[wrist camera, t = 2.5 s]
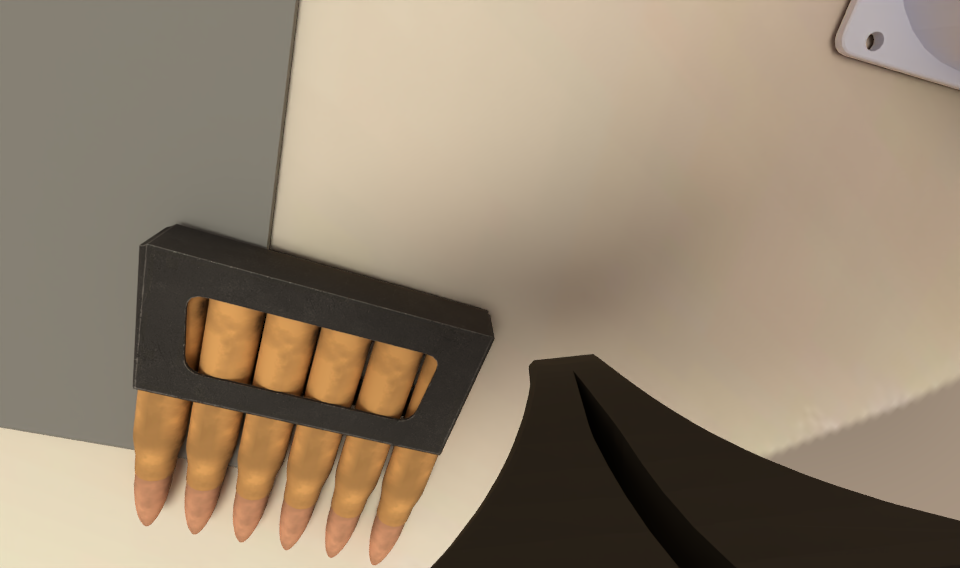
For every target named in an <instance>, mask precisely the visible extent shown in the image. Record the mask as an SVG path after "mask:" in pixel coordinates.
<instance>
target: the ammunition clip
mask: <svg viewBox="0 0 960 568" xmlns="http://www.w3.org/2000/svg"><path fill="white" fill-rule="evenodd" d="M265 313H267V316H266V321H265V326H264V331H263V336H262V340H261V345H260V350H259V355H258V354H257V349H258V345H259V340H260V336H261V331H262V327H263V322H264V318H265ZM320 327H321V331H320V335H319V339H318V343H317V347H316V351H315V355H314V359H313V363H312V367H309V366H310V362H311V358H312V354H313V351H314V347H315V343H316V339H317V336H318V332H319V328H320ZM494 339H495V338H494V333H493V328H492V323H491V318H490V315H489V314H488V311H487V310H483V309H480V308H476V307H473V306H469V305H466V304H462V303H458V302H455V301H451V300H448V299H444V298H440V297H437V296H433V295H430V294H426V293H422V292H419V291H415V290H412V289H408V288H405V287H401V286H397V285H394V284H390V283H387V282H383V281H379V280H376V279H372V278H369V277H365V276H362V275H358V274H354V273H351V272H347V271H344V270H340V269H336V268H333V267H329V266H326V265H322V264H319V263H315V262H311V261H308V260H304V259H301V258H297V257H293V256H290V255H286V254H283V253H279V252H276V251H272V250H268V249H265V248H261V247H258V246H254V245H250V244H247V243H243V242H240V241H236V240H233V239H229V238H225V237H222V236H218V235H215V234H211V233H207V232H204V231H200V230H197V229H193V228H190V227H186V226H182V225H179V224H175V225H173V226H169V227H166V228H164V229H163V230H161V231H160V232H158V233H157V234H155V235H154V236H152V237H151V238H149V239H148V240H146V241H145V242H143V243H142V244H140V245H139V264H138V284H137V305H136V326H135V347H134V367H133V388H134V389H136V390H138V392H137V401H136V410H135V419H134V428H133V442H134V449H135V454H136V456H135V482H134V494H135V505H136V510H137V514H138V517H139V519H140V521H141V522H142V523H143V525H145V526H149V525H150V524H152V523H153V521H154V520H155V519H156V518H157V516H158V515H159V513H160V511H161V510H162V508H163V505H164V503H165V501H166V498H167V495H168V492H169V489H170V486H171V482H172V477H173V472H174V469H175V466H176V462H177V457H178V453H179V451H180V449H181V447H182V444H183V442H184V439H185V436H186V433H187V428H188V422H189V416H190V410H191V405H192V402H193V405H192V412H191V418H190V424H189V431H188V437H187V443H186V452H187V460H188V467H187V476H186V480H187V483H186V490H185V515H186V520H187V525H188V528H189V530H190V531H191V532H192V534H197V533H199V532H200V531H201V530H202V529H203V528H204V526H205V525H206V524H207V522H208V520H209V519H210V517H211V515H212V513H213V511H214V509H215V506H216V503H217V500H218V498H219V494H220V490H221V485H222V482H223V481H224V477H225V473H226V470H227V466H228V464H229V462H230V460H231V458H232V456H233V454H234V452H235V449H236V445H237V440H238V436H239V431H240V426H241V422H242V417H243V413H246V418H245V422H244V427H243V432H242V437H241V442H240V446H239V451H238V457H237V461H238V478H237V485H236V495H235V500H234V507H233V525H234V531H235V535H236V538H237V539H238V541H239V542H244V541H245V540H246V539H248V538H249V536H250V535H251V534H252V532H253V531H254V529H255V528H256V526H257V525H258V523H259V521H260V519H261V517H262V515H263V512H264V510H265V507H266V504H267V501H268V497H269V494H270V492H271V490H272V487H273V484H274V480H275V477H276V475H277V473H278V471H279V469H280V468H281V466H282V464H283V462H284V459H285V456H286V452H287V448H288V444H289V441H290V437H291V433H292V429H293V426H294V424H297V426H296V430H295V434H294V437H293V441H292V445H291V449H290V453H289V457H288V462H287V482H286V487H285V492H284V500H283V504H282V509H281V517H280V540H281V544H282V546H283V548H284V549H285V550H288V549H290V548H291V547H292V546H293V545H294V544H295V543H296V542H297V541H298V539H299V538H300V537H301V535H302V533H303V532H304V530H305V528H306V526H307V524H308V522H309V520H310V518H311V515H312V513H313V510H314V507H315V503H316V502H317V500H318V497H319V494H320V492H321V489H322V486H323V485H324V483H325V481H326V480H327V478H328V476H329V474H330V472H331V470H332V467H333V464H334V461H335V458H336V454H337V451H338V448H339V445H340V442H341V438H342V435H347V436H346V439H345V442H344V446H343V449H342V452H341V456H340V459H339V462H338V466H337V469H336V476H335V489H334V493H333V497H332V502H331V508H330V511H329V515H328V519H327V525H326V536H325V544H326V551H327V554H328V556H329V557H330V558H332V557H334V556H336V555H337V554H338V553H339V552H340V551H341V550H342V549H343V547H344V546H345V545H346V543H347V542H348V540H349V539H350V537H351V535H352V533H353V531H354V529H355V527H356V525H357V522H358V520H359V517H360V514H361V513H362V511H363V508H364V506H365V504H366V501H367V499H368V497H369V496H370V494H371V493H372V491H373V490H374V488H375V486H376V484H377V482H378V479H379V477H380V474H381V471H382V468H383V466H384V463H385V460H386V457H387V454H388V452H389V449H390V446H391V445H393V446H394V449H393V452H392V455H391V458H390V460H389V463H388V466H387V469H386V472H385V475H384V478H383V482H382V491H381V498H380V502H379V505H378V508H377V514H376V517H375V520H374V523H373V527H372V531H371V536H370V545H369V555H370V561H371V563H372V565H376V564H378V563H380V562H381V561H382V560H383V559H384V558H385V557H386V556H387V554H388V553H389V552H390V551H391V549H392V548H393V546H394V545H395V543H396V541H397V540H398V538H399V536H400V534H401V531H402V529H403V527H404V524H405V522H406V521H407V519H408V517H409V515H410V513H411V510H412V508H413V507H414V505H415V504H416V502H417V501H418V500H419V498H420V497H421V495H422V493H423V491H424V489H425V486H426V484H427V481H428V479H429V476H430V474H431V471H432V469H433V466H434V464H435V461H436V459H437V456H438V455H440V454H441V452H442V450H443V448H444V446H445V444H446V442H447V439H448V437H449V435H450V433H451V431H452V429H453V427H454V425H455V422H456V420H457V418H458V416H459V414H460V412H461V410H462V407H463V405H464V403H465V401H466V399H467V397H468V395H469V392H470V390H471V388H472V386H473V384H474V382H475V380H476V377H477V375H478V373H479V371H480V369H481V367H482V365H483V362H484V360H485V358H486V356H487V354H488V352H489V350H490V347H491V345H492V343H493V341H494ZM372 340H374V341H375V342H374V346H373V349H372V352H371V356H370V359H369V362H368V366H367V369H366V372H365V376H364V379H363V380H362V379H360V377H361V374H362V371H363V368H364V365H365V361H366V358H367V355H368V352H369V349H370V345H371V342H372ZM423 354H426V356H425V359H424V362H423V365H422V368H421V371H420V374H419V377H418V379H417V382H416V384H415V385H414V386H413V387H412V384H413V382H414V379H415V376H416V373H417V370H418V368H419V365H420V362H421V359H422V356H423ZM197 370H198V372H197ZM250 381H251V382H253V384H252V385H250ZM302 393H303V394H304V397H301V396H302ZM352 405H356V406H355V409H353V408H351V406H352ZM401 416H404V418H403V419H400V418H401Z"/></svg>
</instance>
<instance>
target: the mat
mask: <svg viewBox="0 0 960 568" xmlns="http://www.w3.org/2000/svg"><path fill="white" fill-rule="evenodd" d="M298 5H299V0H0V427H1V428H7V429H13V430H19V431H25V432H31V433H37V434H43V435H49V436H55V437H60V438H66V439H72V440H78V441H84V442H90V443H96V444H102V445H108V446H114V447H120V448H125V449H131V450H135V449H134V442H133V428H134V419H135V410H136V401H137V392H138V390H136V389H134V388H133V367H134V347H135V326H136V305H137V284H138V264H139V245H140V244H142V243H143V242H145V241H146V240H148V239H149V238H151V237H152V236H154V235H155V234H157V233H158V232H160V231H161V230H163V229H164V228H166V227H169V226H173V225H175V224H179V225H182V226H186V227H190V228H193V229H197V230H200V231H204V232H207V233H211V234H215V235H218V236H222V237H225V238H229V239H233V240H236V241H240V242H243V243H247V244H250V245H254V246H258V247H261V248H265V249H268V250H269V247H270V239H271V230H272V222H273V214H274V205H275V197H276V188H277V180H278V172H279V163H280V155H281V147H282V138H283V130H284V122H285V113H286V105H287V97H288V88H289V80H290V71H291V63H292V55H293V46H294V38H295V30H296V21H297V13H298ZM197 372H198V370H197ZM252 384H253V382H251V381H250V385H252ZM192 405H193V402H192ZM192 405H191V410H190V416H189V422H188V428H187V433H186V436H185V439H184V442H183V444H182V447H181V449H180V451H179V453H178V457H179V458H184V459H187V452H186V443H187V437H188V431H189V424H190V418H191V412H192ZM245 418H246V413H243V417H242V422H241V426H240V431H239V436H238V440H237V445H236V449H235V452H234V454H233V456H232V458H231V460H230V462H229V464H228V466H232V467H238V461H237V457H238V451H239V446H240V442H241V437H242V432H243V427H244V422H245Z"/></svg>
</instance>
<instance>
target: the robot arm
mask: <svg viewBox="0 0 960 568" xmlns="http://www.w3.org/2000/svg"><path fill="white" fill-rule="evenodd" d="M870 34H872V35H873V37H874V43H873V46H872V47H871V49H870V50H868V49H867V47H866V41H867V38H868V37H869V35H870ZM835 46H836V49H837V50H838V52H839V53H841V54H842V55H844V56H847V57H851V58H854V59H857V60H861V61H864V62H867V63H871V64H874V65H877V66H881V67H884V68H887V69H891V70H894V71H897V72H901V73H904V74H908V75H911V76H914V77H918V78H921V79H924V80H928V81H931V82H934V83H938V84H941V85H944V86H948V87H951V88H954V89H958V90H960V0H851V2H850V4H849V6H848V8H847V11H846V13H845V15H844V18H843V20H842V22H841V25H840V27H839V29H838V31H837V34H836V38H835ZM529 375H530V390H529V396H528V400H527V404H526V408H525V412H524V416H523V419H522V422H521V425H520V428H519V430H518V433H517V436H516V439H515V442H514V444H513V446H512V449H511V451H510V453H509V456H508V458H507V460H506V462H505V464H504V466H503V468H502V470H501V472H500V474H499V476H498V477H497V479H496V481H495V483H494V484H493V486H492V488H491V489H490V491H489V493H488V494H487V496H486V498H485V499H484V501H483V502H482V504H481V506H480V507H479V509H478V510H477V511H476V513H475V514H474V516H473V517H472V518H471V520H470V521H469V522H468V523H467V525H466V526H465V527H464V529H463V530H462V531H461V533H460V534H459V535H458V537H457V538H456V539H455V540H454V542H453V543H452V544H451V546H450V547H449V548H448V549H447V550H446V551H445V553H444V554H443V555H442V556H441V557H440V558H439V559H438V560H437V561H436V562H435V563H434V564H433V566H432V567H431V568H960V521H958V520H955V519H951V518H947V517H943V516H939V515H935V514H931V513H927V512H923V511H920V510H916V509H912V508H908V507H904V506H900V505H896V504H893V503H889V502H885V501H882V500H879V499H876V498H873V497H870V496H867V495H863V494H860V493H857V492H854V491H851V490H848V489H845V488H841V487H838V486H835V485H833V484H830V483H827V482H824V481H821V480H819V479H816V478H813V477H810V476H807V475H805V474H802V473H799V472H797V471H795V470H792V469H790V468H787V467H785V466H782V465H780V464H777V463H775V462H772V461H770V460H767V459H765V458H763V457H760V456H758V455H756V454H754V453H751V452H749V451H747V450H745V449H743V448H741V447H739V446H737V445H735V444H733V443H731V442H728V441H726V440H724V439H722V438H720V437H718V436H716V435H714V434H712V433H710V432H709V431H707V430H705V429H703V428H701V427H700V426H698V425H696V424H694V423H693V422H691V421H689V420H688V419H686V418H684V417H683V416H681V415H679V414H678V413H676V412H674V411H673V410H671V409H669V408H668V407H666V406H665V405H663V404H662V403H660V402H659V401H657V400H656V399H654V398H653V397H651V396H650V395H648V394H647V393H645V392H644V391H642V390H641V389H640V388H638V387H637V386H635V385H634V384H633V383H631V382H630V381H629V380H627V379H626V378H624V377H623V376H622V375H620V374H619V373H618V372H616V371H615V370H614V369H613V368H611V367H610V366H609V365H607V364H606V363H605V362H603V361H602V360H601V359H599V358H598V357H596V356H595V355H594V354H590V355H581V356H571V357H562V358H553V359H543V360H534V361H533V362H532V363H531V364H530V365H529Z"/></svg>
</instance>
